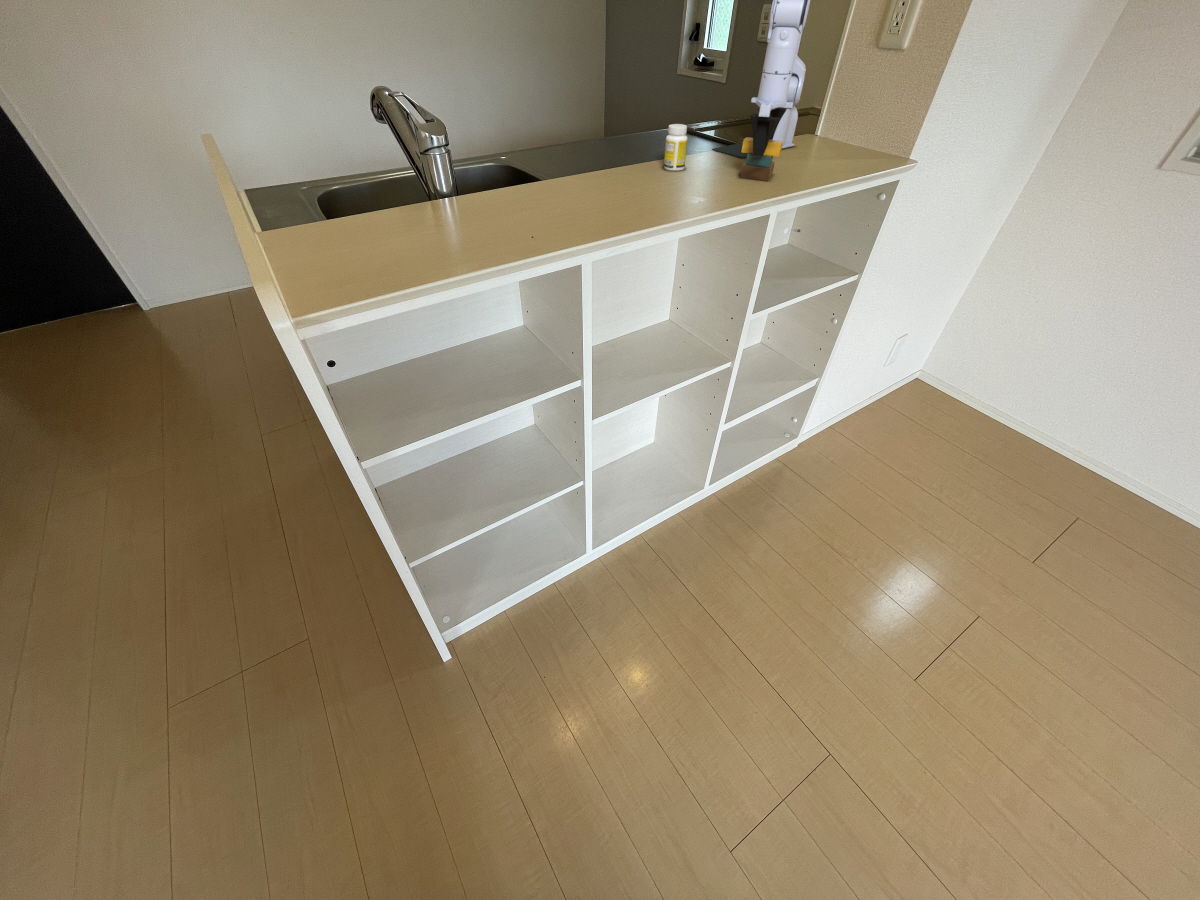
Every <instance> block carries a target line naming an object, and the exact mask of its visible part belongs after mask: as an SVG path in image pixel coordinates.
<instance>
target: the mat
mask: <svg viewBox="0 0 1200 900" xmlns="http://www.w3.org/2000/svg"><path fill="white" fill-rule="evenodd" d="M742 146H743V142H739V143H734V144H729V145H724V146H718V147H714V148H712V151H715V152H718V153H722V154H726V155H728V156H732V157H736V158H738V159H739V158H740V159H747V154H748V153H742V152H741V151H742Z"/></svg>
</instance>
